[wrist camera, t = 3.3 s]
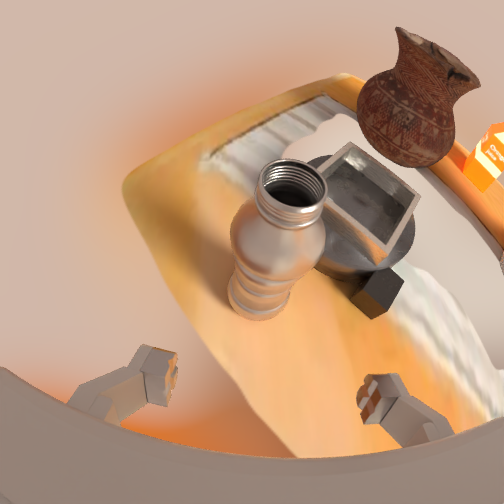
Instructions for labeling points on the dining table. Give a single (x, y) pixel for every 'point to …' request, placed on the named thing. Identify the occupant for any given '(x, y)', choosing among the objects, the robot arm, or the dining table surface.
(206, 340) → the dining table surface
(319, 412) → the dining table surface
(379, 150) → the jug
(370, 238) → the disc with square tube
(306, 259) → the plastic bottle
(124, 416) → the robot arm
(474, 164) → the orange juice
